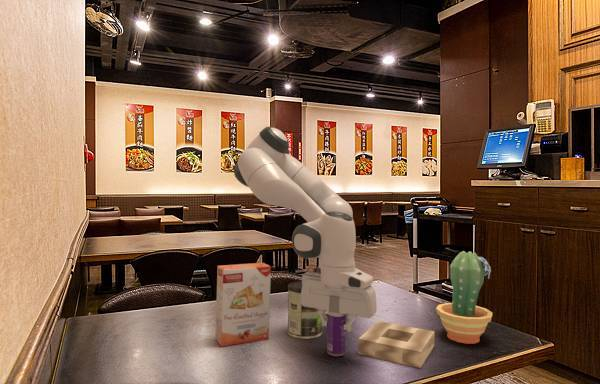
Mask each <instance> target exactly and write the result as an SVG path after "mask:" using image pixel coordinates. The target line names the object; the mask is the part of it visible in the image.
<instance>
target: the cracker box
mask: <svg viewBox="0 0 600 384" xmlns="http://www.w3.org/2000/svg"><path fill="white" fill-rule="evenodd" d="M216 267H217V270H216V273H217V276H216V306H215V307H216V308H215V309H216V311H215V313H216V314H215V315H216V316H215V318H216V319H215V340H216V341H217V343H218V344H219V346H220V347H226V346H231V345H232V346H233V345H238V344H244V343H252V342H257V341H262V340H269V337H270V335H269V334H270V313H271V311H270V310H271V307H270V306H271V278H272V277H271V276H272V265H271V266H270V265H269V264H266V263H265V262H254V263H238V264H227V265H226V264H225V265H224V264H223V265H217V266H216Z"/></svg>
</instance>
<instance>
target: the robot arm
mask: <svg viewBox="0 0 600 384" xmlns="http://www.w3.org/2000/svg"><path fill="white" fill-rule="evenodd" d="M289 147H290V143H289V140H288V138H287V136H286V135H285V134H284V132H283V131H281V130H280V129H278V128H276V127H273V126H266V127H264V128H263V129H262V130H261V131H260V132H259V134H258V135H257V136H256V137H255V138H254V139H253V140H252V141H251V142H250V144H248V146H247V148H246V149H245V150H244V151H242V152H241V154H240V155H239V157H238V159H237V162H236V163H235V166H234V169H233V174H234V177H235V179H236V180H237V181H238V183H240V184H242V185H243V186H245V187H247V188H249V189H250V191H251V192H252V194H253V195H254V197H256V198H257V199H259V201H261V202H262V203H263V204H266V205H270V206H276V207H282V208H286V209H290V210H292V211H294V212H296V213H298V214H299V215H300V216H301V217H302V218H303V219H304V220H305V221H306V222H305V223H302V224H299V225H297V226H296V227H295V229H294V230H293V232H292V237H291V245H292V249H293V250H294V252H295V254H297V256H298V257H300V258H302V259H307V260H308V259H310V260H311V259H315V258H318V266H317V267H315V268H313V269H312V270H311V271H310V270H309V271H307V272H305V273H303V274H302V277H301V281H302V290H301V298H300V302H301V304H302V306H305V307H310V308H315V309H318V314H319V316H320V318H321V320H322V328H323V327H324V328H327V327H328V316H327V315H328V311H329V300H330V296H336V297H341V298H339V311H340V313H342V314H346V315H347V319H348V321H346V323H345V324H344V331H346V332H347V333H348V332H349V333H350V332H352V326H353V323H354V321H355V319H356V318H357V317H360V318H365V319H371V318H373V317H374V316H375V314H377V311H378V310H377V306H378V305H377V295H376V294H377V293H376V290H375V288H374V286H372V284H373V283H374V276H372V275H371V274H369V273H366V272H364V271H363V270H361V269H359V268H357V267H356V261H355V251H356V248H357V245H356V243H357V239H356V235H357V234H356V226H355V221H354V218H353V217H354V216H353V215H354V214H353V208H352V206H351V205H350V204H349V202H348V201H346V200H345V199H343V198H342V197H341V196H340V195H339V194H337V193H336V191H334V190H333V189H332V188H331V187H330V186H328V185H327V184H326V183H325V182H324V181H323V180H321V178H319V176H317V175H316V174H315V173H314V172H312V171H311V170H310V169H309V168H308V167H307V166H306V165H304V164H303V163H302V162H301V161H299V160H298V159H297V158H295V157H294V156H292V155H291V154H290V153H291V152H290V150H289ZM329 295H330V296H329Z"/></svg>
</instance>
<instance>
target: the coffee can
mask: <svg viewBox="0 0 600 384" xmlns="http://www.w3.org/2000/svg"><path fill="white" fill-rule="evenodd" d="M287 289H288V290H287V291H288V293H287V295H288V297H287V299H288V300H287V304H288V305H287V334H288V335H289V336H290V337H292V338H295V339H301V340H311V339H316V338H319V337H321V336H322V335H323V326H322V320H321V318H320V316H319V314H318V309H315V308H310V307H305V306H302V304H301V302H300V298H301V290H302V280H301V281H300V280H299V281H293V282H290V283H288V285H287Z"/></svg>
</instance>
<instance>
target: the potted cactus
mask: <svg viewBox="0 0 600 384" xmlns="http://www.w3.org/2000/svg"><path fill="white" fill-rule="evenodd" d="M449 267H450V268H449V269H450V270H449V272H450V273H449V274H450V281H451V285H452V297H451V298H452V300H451V301H452V302H445V303H441V304H438V305H437V306H436V307H435V309H436V313H437V315H438V316H439V318H440V321H441V324H442V326H443V327H444V329H445V330H446V332H447V334H446V337H447V338H448V339H449V340H451V341H453V342H457V343H462V344H466V345H467V344H477V343H479V342H481V341H480V337H481V336H482V335H483V334H484V333H485V330H486V329H487V326H488V324H489V323H491V321H492V317H493V312H492V311H490V310H489V309H488V308H485V307H481V306H478V305H477V301H478V298H479V293H480V291H481V288H482V286H483V284H484V279H485V277H486V276H487V275H488V277H487V279H488V280H489V279H490V276H491V272H492V269H491V266H490V264H489V262H488V261H487V259H486V258H484V257H483V256H478V254H477V253H476V252H474V253H473V252H472V251H468V252H466V251H465V250H462V251H460V252H459V253H458V254H457V255H456V256H455V258H454V259H453V260H452V261H451V264H450V265H449Z"/></svg>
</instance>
